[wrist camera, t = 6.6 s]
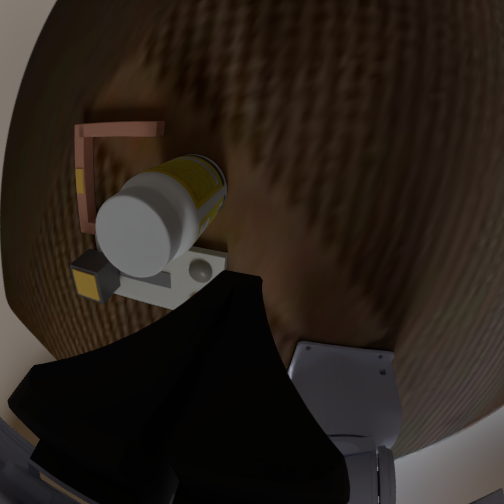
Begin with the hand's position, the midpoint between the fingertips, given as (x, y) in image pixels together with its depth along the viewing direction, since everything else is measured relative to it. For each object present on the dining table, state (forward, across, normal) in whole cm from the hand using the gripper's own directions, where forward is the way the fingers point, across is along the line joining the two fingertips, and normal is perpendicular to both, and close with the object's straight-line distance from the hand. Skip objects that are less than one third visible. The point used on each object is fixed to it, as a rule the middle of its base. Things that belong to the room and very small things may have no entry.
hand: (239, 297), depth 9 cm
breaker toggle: (+9, +13, +7) cm, 17 cm away
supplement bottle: (+10, +5, 0) cm, 11 cm away
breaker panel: (+10, +8, +7) cm, 15 cm away
